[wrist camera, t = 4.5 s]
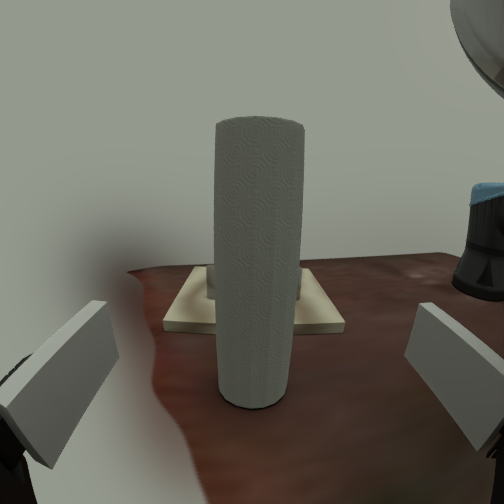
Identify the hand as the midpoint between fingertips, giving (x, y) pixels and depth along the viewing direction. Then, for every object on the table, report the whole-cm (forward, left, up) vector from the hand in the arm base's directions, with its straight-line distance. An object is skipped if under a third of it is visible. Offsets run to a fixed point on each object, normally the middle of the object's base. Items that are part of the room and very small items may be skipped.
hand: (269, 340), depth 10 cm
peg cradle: (0, -30, -11) cm, 32 cm away
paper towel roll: (0, -10, -12) cm, 15 cm away
